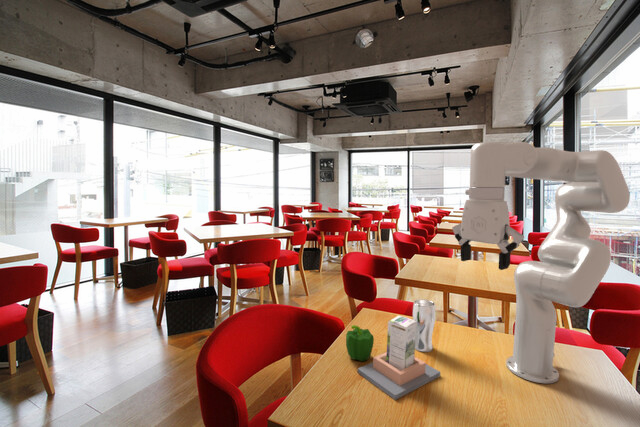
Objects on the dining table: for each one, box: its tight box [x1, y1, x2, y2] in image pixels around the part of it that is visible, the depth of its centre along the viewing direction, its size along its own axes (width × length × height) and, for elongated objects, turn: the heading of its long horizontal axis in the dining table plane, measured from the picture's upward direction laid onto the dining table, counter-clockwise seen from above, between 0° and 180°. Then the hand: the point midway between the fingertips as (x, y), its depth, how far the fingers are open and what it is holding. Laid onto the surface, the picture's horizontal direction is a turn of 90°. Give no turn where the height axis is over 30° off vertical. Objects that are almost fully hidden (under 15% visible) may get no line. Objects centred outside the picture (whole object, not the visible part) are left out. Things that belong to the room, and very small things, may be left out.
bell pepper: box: [345, 324, 375, 362], centre depth 100 cm, size 8×8×10 cm
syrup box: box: [386, 315, 416, 371], centre depth 90 cm, size 6×6×14 cm
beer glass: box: [412, 298, 436, 353], centre depth 106 cm, size 7×7×15 cm
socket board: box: [357, 351, 441, 401], centre depth 91 cm, size 18×14×4 cm
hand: (483, 264), depth 80 cm, fingers open, 9 cm apart
